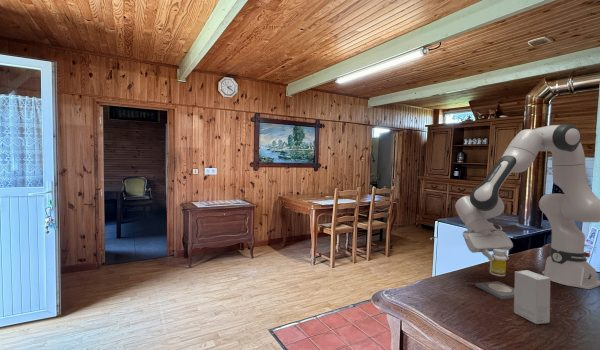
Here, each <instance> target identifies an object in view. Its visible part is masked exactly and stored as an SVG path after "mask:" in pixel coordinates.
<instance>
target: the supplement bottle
mask: <svg viewBox="0 0 600 350" xmlns="http://www.w3.org/2000/svg"><path fill="white" fill-rule="evenodd" d="M492 252H493V253H492V254H491V255H492V256H494V258H495V259H496V260H495V261H492V262H490V261H489V262H490V263H489V273H490V274H491V275H493V276H498V277H505V276H506V273H507V261H508V260H507V258H506V257H505V256H504V255H505V251H504V250H501V249H493V251H492Z"/></svg>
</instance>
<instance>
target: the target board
mask: <svg viewBox="0 0 600 350" xmlns="http://www.w3.org/2000/svg"><path fill="white" fill-rule="evenodd" d="M475 287H477V288H478V289H481V290H483V291H485V292H487V293H489V294H491V295H493V296H494V297H497V298H498V299H501V300H505V299H506V300H507V299H514V288H515V287H512V286H511V285H507V284H505V283H504V282H500V281H498V280H497V281H487V282H486V281H485V282H476V283H475Z"/></svg>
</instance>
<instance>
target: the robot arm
mask: <svg viewBox="0 0 600 350" xmlns="http://www.w3.org/2000/svg"><path fill="white" fill-rule="evenodd" d="M581 141H582V133H581V131H580V130H579V128H578V127H577V126H575V125H573V124H553V125H552V124H551V125H550V124H549V125H546V126H541V127H535V128H531V129H529V128H528V129H523V130H520V131H519V132H518V133H517V134H516V135H515V136H514V138H513V139H512V140H511V141H510V143H509V145H508V146H507V148H505V150H504V152H503V154H502V155H501V157H500V158H499V159H498V160H497V162H496V163H495V164H494V166H493V167H492V169H491V170H490V171H489V173H488V174H487V175H486V177H485V178H484V180H483V181H481V183H479V185H477V186H476V187H475V188H474V189H473V190H471V192H470V194H469V195H464V196H462V197H459V198H458V200H457V201H456V203H455V206H454V208H455V212H456V213H457V215H458V216H459V219H460V220H461V221H462V222H463V224H465V229H466V230H464V231H463V232H462V238H464V239H463V240H464V241H465V244H466V246H467V249H468V250H469V251H470V253H473V254H475V253H481V254H482V255H483V256H484V257H486V258H487V259H488V260H489V262H492V261H495V260H496V259H495V258H494V256H492V254H491V253H490V252H493V249H501V250H504V251H505V255H504V256H505V257H506V258H507V261H508V260H510V257H509V256H508V252H507V251H509V250H511V249H513V247H514V243H513V241H512V240H511V238H510V237H509V236H508V235H507V232H504V231H503V227H502V226H501V225H499V224H496V223H493V222H491V221H488V220H491V219H494V218H496V217H499V216H501V215H502V214H503V213H504V212H505V208H506V207H505V202H504V201H503V200H502V198H501V197H500V196H499V195H500V194H499V190H500V189H501V187H502V186H503V185H504V183H505V182H506V179H508V177H509V175H511V174H512V173H514V174H515V173H516V174H517V173H518V174H520V173H523V172H526V171H527V170H528V169H529V168H530V167H531V165H533V163H534V161H535V159H536V157H537V156H538V154H539V152H550V153H551V156H552V157H551V170H552V182H553V183H554V184H555V185H556V186H558V187H559V188H560V189H561V191H562V192H563V193H558V192H557V193H547V194H544V195H542V196H541V198H540V200H539V201H538V207H539V209H540V211H541V212H542V213H543V214H544V216H545V217H546V218H547V220H548V222H549V226H550V228H551V246H550V247H549V250H548V251H549V256H548V257H546V261H545V266H544V270H542V273H541V275H543V276H546V277H549V278H551V279H550V282H554V283H556V284H560V285H565V286H568V287H576V288H580V289H585V290H591V289H594V288H597V287H599V286H600V280H599V279H597V271H596V269H595V268H594V267H593V266H592V265H591V264H590V263H589V262H588V261H587V258H588V259H589V258H591V253H590V252H586V251H585V242H586V235H585V234H584V232H583V231H582V230H581V229H580V228H578V226H577V224H576V222H575V221H577V222H580V223H600V198H599V197H598V196H597V195H596V194H595V193H594V192H593V191H592V188H591V187H590V185H589V182H588V178H587V177H588V176H587V168H586V156H585V152H584V148H583V146H582V145H583V144H582V142H581Z"/></svg>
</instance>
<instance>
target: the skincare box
mask: <svg viewBox="0 0 600 350" xmlns="http://www.w3.org/2000/svg"><path fill="white" fill-rule="evenodd" d="M550 279H551V278H549V277H546V276H544V274H541V273H536V272H534V271H531V270H528V269H526V270H517V271H514V287H513V288H514V298H513V299H514V300H513V313H514V314H516V315H518V316H520V317H522V318H524V319H526V320H528V321H530V322H531V323H533V324H535V325H539V324H540V325H541V324H549V323H550V321H551V319H550V318H551V280H550Z"/></svg>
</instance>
